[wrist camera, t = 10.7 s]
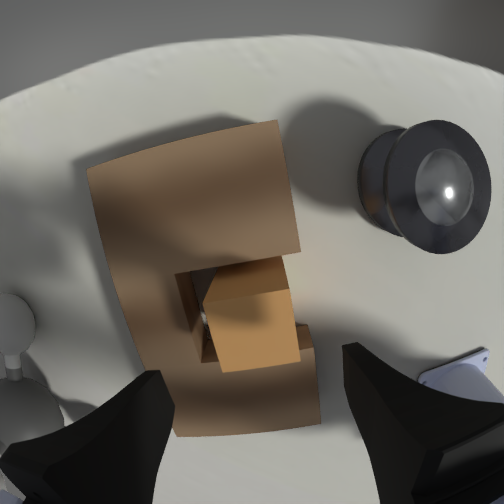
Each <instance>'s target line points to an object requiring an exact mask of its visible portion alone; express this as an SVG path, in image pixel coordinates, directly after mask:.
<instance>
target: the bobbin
mask: <svg viewBox="0 0 504 504" xmlns="http://www.w3.org/2000/svg"><path fill="white" fill-rule="evenodd" d="M358 191H359V196H360V199H361V202H362V205H363V207H364V209H365V211H366V212H367V214H368V215H369V217H370V218H371V219H372V220H373V221H374V222H375V223H376V224H377V225H378V226H379V227H381V228H382V229H384V230H386V231H388V232H390V233H392V234H394V235H397V236H400V237H404V238H405V239H406V240H407V241H409V242H410V243H411V244H413V245H415V246H417V247H419V248H421V249H422V250H424V251H427V252H430V253H435V254H447V253H452V252H455V251H457V250H459V249H461V248H463V247H464V246H466V245H467V244H469V243H470V242H471V241H472V240H473V239H474V238H475V236H476V235H477V234H478V232H479V231H480V229H481V228H482V226H483V224H484V222H485V220H486V217H487V214H488V211H489V207H490V201H491V178H490V172H489V168H488V164H487V161H486V159H485V156H484V154H483V152H482V150H481V148H480V147H479V145H478V144H477V142H476V141H475V140H474V138H473V137H472V136H471V135H470V134H469V133H468V132H466V131H465V130H464V129H463V128H461V127H459V126H458V125H456V124H453V123H451V122H448V121H444V120H431V121H426V122H423V123H419V124H416V125H414V126H412V127H410V128H408V129H398V130H394V131H391V132H387V133H385V134H383V135H381V136H379V137H378V138H376V139H375V140H374V141H373V142H372V143H371V144H370V145H369V147H368V148H367V149H366V151H365V153H364V154H363V157H362V159H361V162H360V165H359V170H358Z"/></svg>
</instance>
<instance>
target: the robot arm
mask: <svg viewBox="0 0 504 504" xmlns="http://www.w3.org/2000/svg"><path fill="white" fill-rule="evenodd" d="M342 352H343V372H344V388H345V391H346V395H347V399H348V403H349V406H350V409H351V411H352V414H353V416H354V419H355V421H356V424H357V426H358V428H359V431H360V433H361V436H362V438H363V441H364V443H365V446H366V448H367V451H368V454H369V457H370V461H371V465H372V468H373V472H374V476H375V481H376V485H377V490H378V494H379V499H380V504H504V396H503V395H502V394H501V392H500V391H499V390H498V389H497V388H496V387H495V386H494V385H493V383H492V382H491V381H490V380H489V379H488V378H487V377H486V376H485V375H484V373H485V369H486V365H487V361H488V357H489V350H488V349H484V350H481V351H479V352H477V353H474V354H472V355H469V356H467V357H464V358H462V359H459V360H457V361H454V362H452V363H449V364H446V365H444V366H441V367H438V368H435V369H432V370H429V371H426V372H424V373H422V374H421V375H420V376H419V379H418V382H416V381H414V380H412V379H410V378H409V377H407V376H405V375H403V374H402V373H400V372H398V371H397V370H395V369H393V368H392V367H391V366H389V365H388V364H386V363H385V362H383V361H382V360H381V359H379V358H378V357H376V356H375V355H374V354H373V353H371V352H370V351H369V350H367V349H366V348H365V347H364V346H362V345H361V344H360V343H358V342H355V343H351V344H346V345H342ZM174 413H175V404H174V402H173V400H172V398H171V395H170V393H169V391H168V388H167V386H166V384H165V381H164V379H163V376H162V374H161V371H160V370H147V371H145V372H144V373H142V374H141V375H140V376H138V377H137V378H136V379H134V380H133V381H132V382H131V383H130V384H128V385H127V386H126V387H125V388H123V389H122V390H121V391H120V392H119V393H117V394H116V395H115V396H114V397H112V398H111V399H110V400H108V401H107V402H106V403H104V404H103V405H101V406H100V407H99V408H97V409H96V410H95V411H93V412H91V413H90V414H88V415H87V416H85V417H83V418H82V419H80V420H78V421H76V422H74V423H72V424H70V425H68V426H66V427H64V428H62V429H60V430H57V431H55V432H52V433H50V434H47V435H44V436H41V437H37V438H34V439H30V440H25V441H21V442H16V443H11V444H10V445H9V447H8V448H7V449H6V451H5V452H4V453H3V455H2V456H1V457H0V468H1V470H2V472H3V473H4V474H5V475H6V476H7V477H8V479H9V480H10V481H11V482H12V483H13V484H14V485H15V486H16V487H17V488H18V489H19V490H20V491H21V492H22V493H23V494H24V495H25V496H26V499H25V500H24V501H22V500H21V499H20V498H18V497H16V496H14V495H13V494H11V493H9V492H7V491H5V490H3V489H1V490H0V504H152V501H153V494H154V488H155V482H156V476H157V472H158V469H159V465H160V462H161V459H162V456H163V453H164V450H165V447H166V444H167V441H168V438H169V435H170V432H171V429H172V425H173V419H174Z"/></svg>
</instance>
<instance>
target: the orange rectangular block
mask: <svg viewBox="0 0 504 504" xmlns="http://www.w3.org/2000/svg"><path fill="white" fill-rule="evenodd" d="M202 304H203V307H204V311H205V315H206V318H207V322H208V325H209V329H210V332H211V336H212V339H213V342H214V346H215V349H216V352H217V356H218V359H219V362H220V366H221V369H222V372H223V373H224V372H233V371H241V370H248V369H256V368H263V367H269V366H276V365H282V364H288V363H294V362H299V361H301V359H300V352H299V346H298V339H297V333H296V326H295V320H294V314H293V308H292V301H291V295H290V289H289V285H288V281H287V276H286V272H285V268H284V264H283V260H282V256H275V257H269V258H264V259H258V260H252V261H247V262H241V263H235V264H229V265H223V266H219V267H218V269H217V271H216V274H215V276H214V278H213V280H212V283H211V285H210V287H209V289H208V292H207V294H206V296H205V299H204V301H203V303H202Z"/></svg>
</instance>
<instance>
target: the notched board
mask: <svg viewBox="0 0 504 504" xmlns="http://www.w3.org/2000/svg"><path fill="white" fill-rule="evenodd" d="M86 171H87V177H88V182H89V187H90V192H91V197H92V202H93V207H94V211H95V216H96V220H97V224H98V228H99V232H100V236H101V240H102V244H103V248H104V251H105V255H106V259H107V262H108V266H109V269H110V273H111V276H112V279H113V282H114V286H115V289H116V292H117V295H118V298H119V301H120V304H121V307H122V310H123V313H124V316H125V319H126V321H127V324H128V327H129V330H130V332H131V335H132V338H133V340H134V343H135V346H136V348H137V351H138V353H139V356H140V358H141V361H142V363H143V365H144V368H145V370H146V371H147V370H160V371H161V374H162V376H163V379H164V381H165V384H166V386H167V388H168V391H169V393H170V395H171V398H172V400H173V402H174V404H175V413H174V419H173V425H172V428H173V430H174V432H175V434H176V436H177V437H201V436H225V435H239V434H251V433H261V432H270V431H278V430H285V429H292V428H299V427H305V426H311V425H316V424H321V415H320V404H319V393H318V383H317V373H316V364H315V355H314V347H313V343H312V340H311V336H310V333H309V329H308V325H303V326H297V327H296V333H297V339H298V346H299V352H300V359H301V361H299V362H294V363H288V364H282V365H276V366H269V367H263V368H256V369H248V370H241V371H233V372H224V373H223V372H222V369H221V366H220V362H219V359H218V356H217V352H216V349H215V346H214V342H213V339H210V340H208V337H207V334H206V331H205V327H204V323H203V320H202V316H201V313H200V309H199V305H198V302H197V298H196V294H195V290H194V287H193V283H192V279H191V275H190V271H194V270H200V269H206V268H212V267H218V266H223V265H229V264H235V263H241V262H247V261H252V260H258V259H264V258H269V257H275V256H281V255H286V254H292V253H298V252H301V249H300V243H299V237H298V230H297V224H296V218H295V212H294V206H293V201H292V195H291V189H290V184H289V178H288V173H287V167H286V162H285V157H284V151H283V146H282V141H281V136H280V131H279V126H278V121H277V120H272V121H266V122H260V123H255V124H249V125H244V126H239V127H234V128H229V129H224V130H219V131H215V132H210V133H206V134H202V135H198V136H193V137H189V138H185V139H181V140H178V141H174V142H170V143H166V144H163V145H159V146H156V147H152V148H149V149H145V150H142V151H139V152H135V153H132V154H129V155H126V156H123V157H120V158H116V159H113V160H110V161H108V162H105V163H102V164H99V165H96V166H93V167H90V168H88V169H86Z"/></svg>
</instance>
